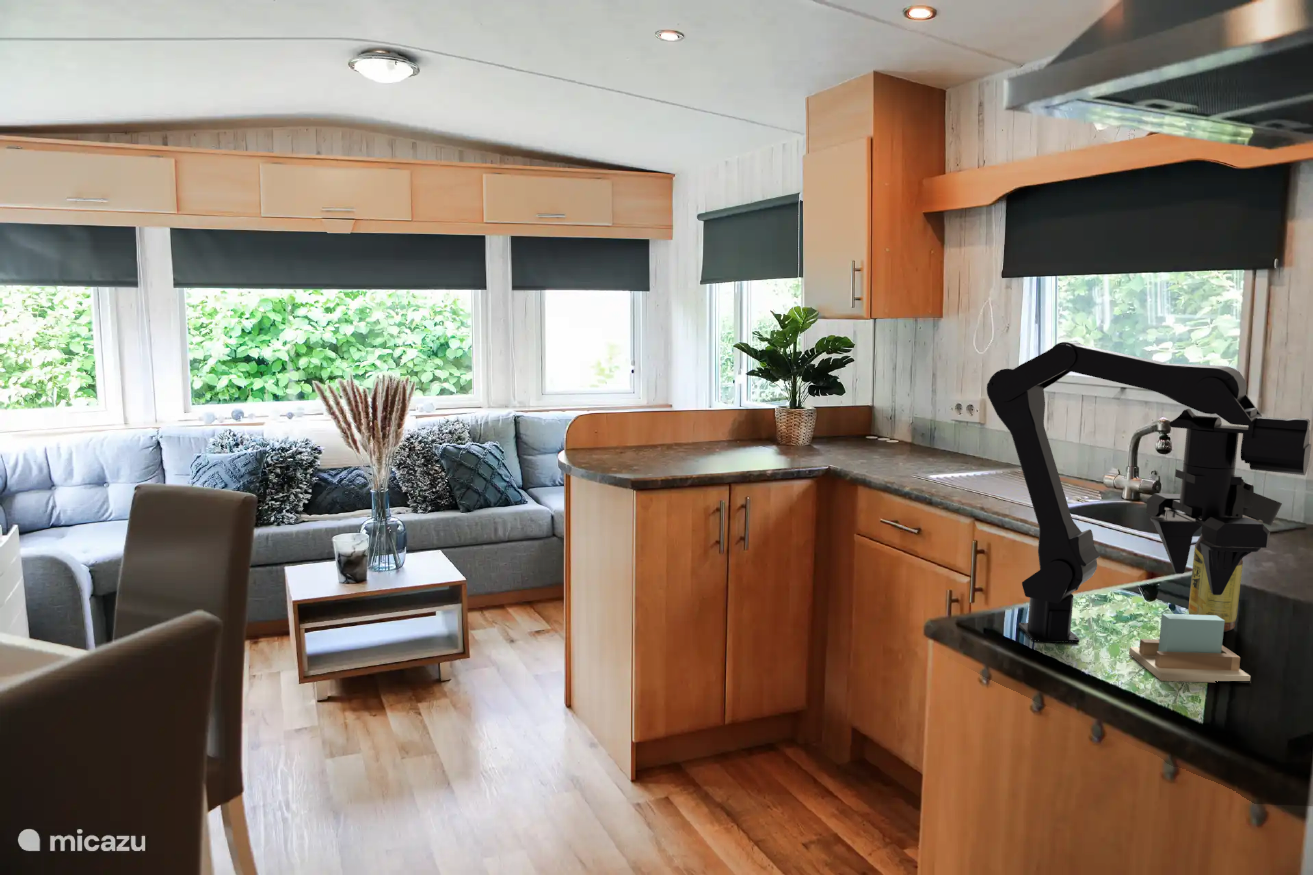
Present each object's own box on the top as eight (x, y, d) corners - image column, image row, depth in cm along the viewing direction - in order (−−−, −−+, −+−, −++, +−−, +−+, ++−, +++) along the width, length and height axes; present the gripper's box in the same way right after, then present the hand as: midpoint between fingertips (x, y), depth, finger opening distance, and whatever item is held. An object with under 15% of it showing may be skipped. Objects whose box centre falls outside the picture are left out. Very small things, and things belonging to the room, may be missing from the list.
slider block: (1157, 656, 124) (1161, 613, 123) (1211, 658, 124) (1216, 615, 123) (1164, 662, 122) (1169, 618, 121) (1219, 664, 122) (1224, 620, 121)
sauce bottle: (1191, 615, 144) (1204, 489, 141) (1238, 625, 140) (1253, 495, 137) (1182, 627, 139) (1196, 496, 136) (1231, 637, 135) (1246, 502, 132)
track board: (1128, 653, 128) (1130, 634, 127) (1211, 656, 127) (1213, 636, 127) (1161, 680, 119) (1163, 659, 119) (1249, 683, 119) (1252, 662, 118)
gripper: (1322, 480, 110) (1307, 608, 112) (1232, 454, 128) (1221, 564, 130) (1224, 478, 110) (1211, 606, 112) (1149, 452, 128) (1139, 563, 131)
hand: (1197, 583), depth 121 cm, fingers open, 9 cm apart
